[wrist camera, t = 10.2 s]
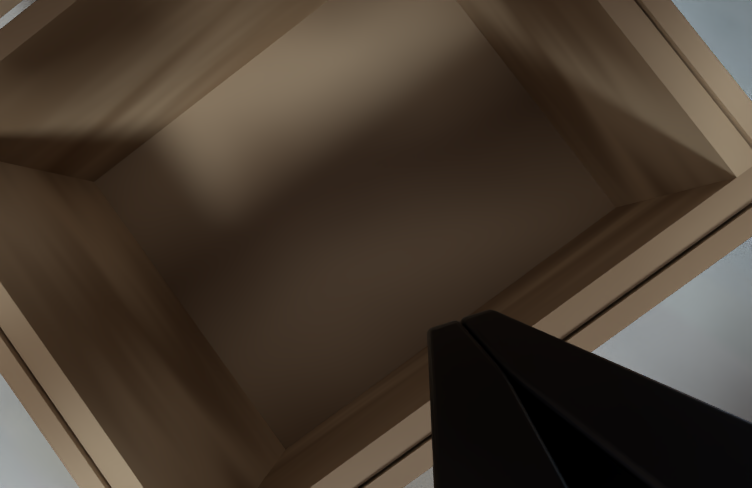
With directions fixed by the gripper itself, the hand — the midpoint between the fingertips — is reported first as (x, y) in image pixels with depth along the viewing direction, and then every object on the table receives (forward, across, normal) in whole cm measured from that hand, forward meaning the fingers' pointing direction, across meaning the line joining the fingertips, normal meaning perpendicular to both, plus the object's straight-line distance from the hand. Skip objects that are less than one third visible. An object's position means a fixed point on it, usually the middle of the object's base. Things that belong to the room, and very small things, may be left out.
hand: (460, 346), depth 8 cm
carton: (+12, -1, +3) cm, 12 cm away
